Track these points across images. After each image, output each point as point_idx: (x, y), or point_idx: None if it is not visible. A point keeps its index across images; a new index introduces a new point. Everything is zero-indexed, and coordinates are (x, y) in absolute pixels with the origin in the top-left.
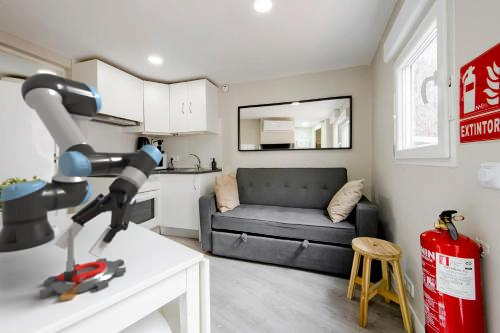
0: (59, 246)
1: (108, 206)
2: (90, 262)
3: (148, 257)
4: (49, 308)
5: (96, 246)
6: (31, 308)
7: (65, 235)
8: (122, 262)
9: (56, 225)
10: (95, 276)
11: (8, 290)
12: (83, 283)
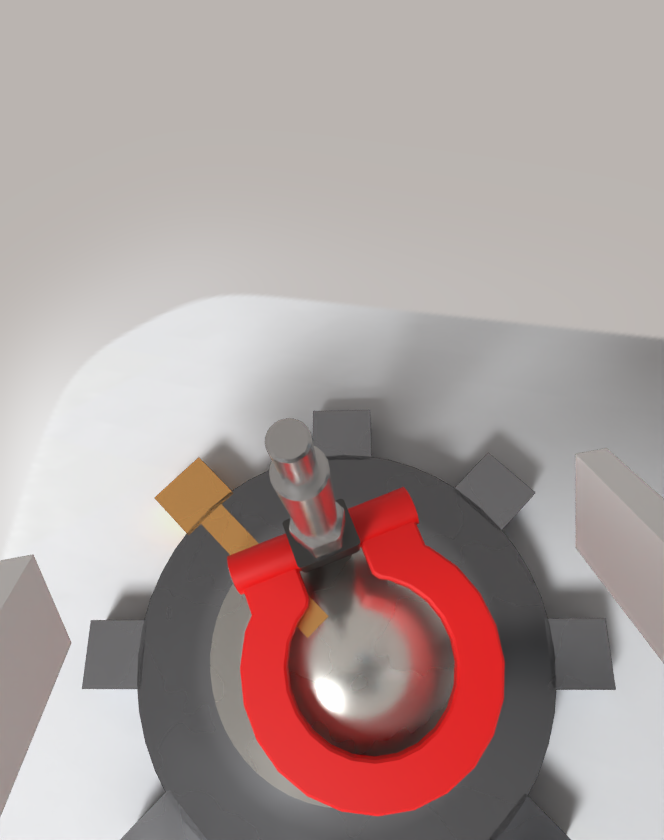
0: (577, 490)
1: None
2: (485, 739)
3: None
4: (191, 418)
5: None
6: (274, 373)
7: (637, 527)
8: None
9: None
10: (239, 670)
11: (602, 345)
12: (220, 582)
